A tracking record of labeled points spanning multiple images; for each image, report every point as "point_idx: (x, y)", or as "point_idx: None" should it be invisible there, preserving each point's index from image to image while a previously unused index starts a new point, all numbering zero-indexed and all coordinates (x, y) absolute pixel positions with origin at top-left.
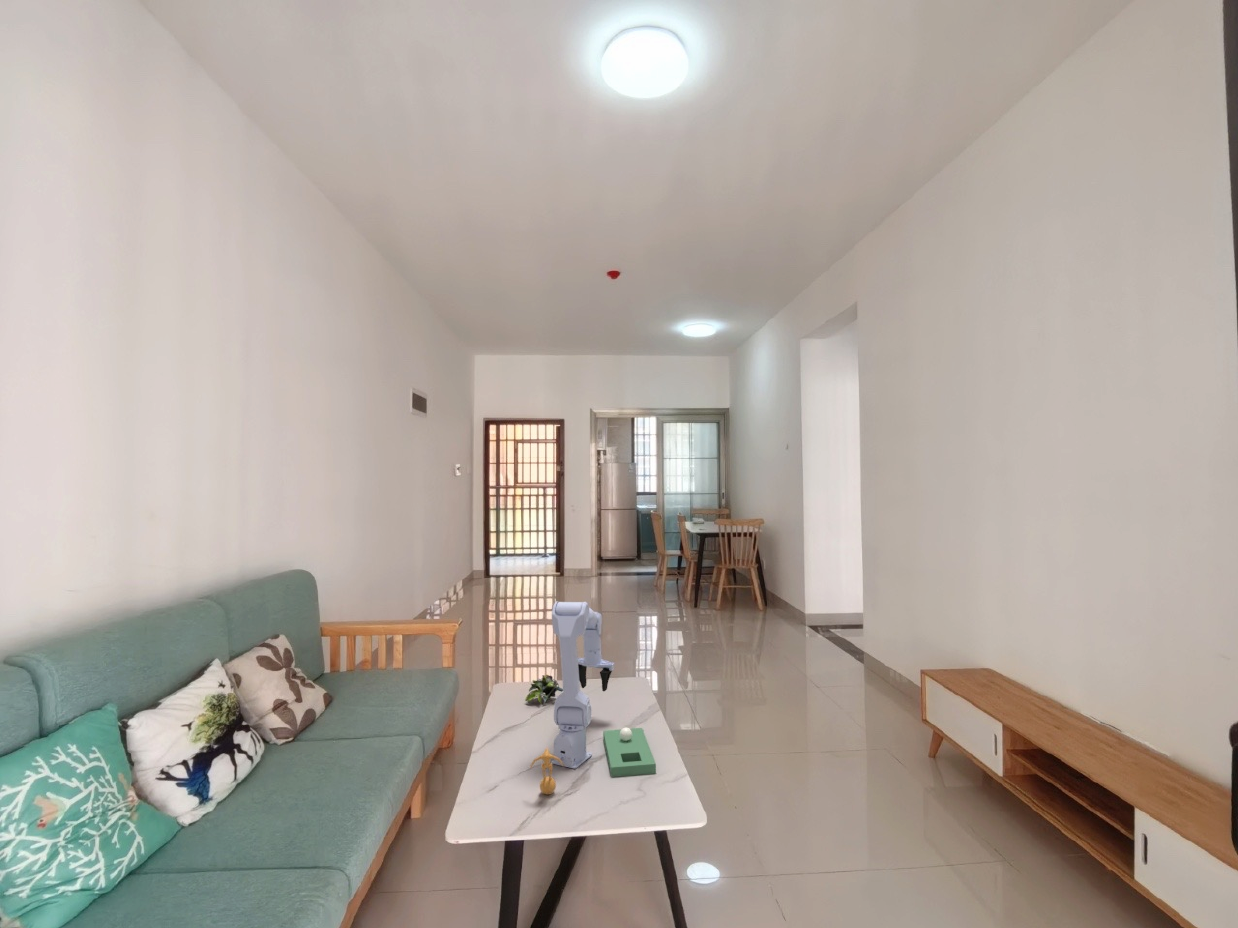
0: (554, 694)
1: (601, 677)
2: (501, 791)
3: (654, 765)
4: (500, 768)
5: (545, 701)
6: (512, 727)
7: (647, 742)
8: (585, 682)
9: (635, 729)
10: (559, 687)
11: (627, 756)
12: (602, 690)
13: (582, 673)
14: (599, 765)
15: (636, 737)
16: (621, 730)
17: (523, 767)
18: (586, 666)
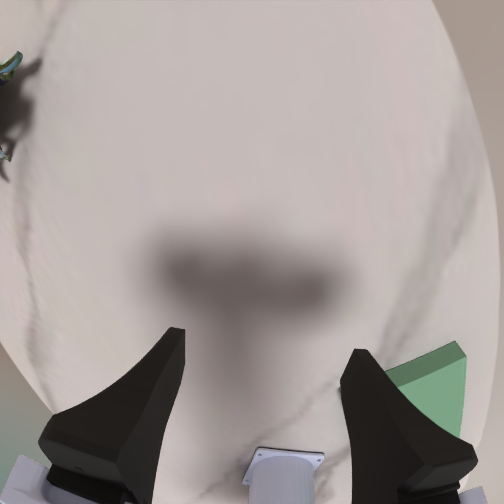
0: (7, 81)
1: (355, 485)
2: None
3: None
4: (158, 486)
5: (3, 154)
6: (36, 344)
7: (461, 419)
8: (178, 357)
9: (446, 372)
10: (1, 67)
11: None
12: (340, 384)
13: (153, 452)
14: (346, 471)
15: (441, 410)
16: None
17: (195, 487)
18: (130, 438)
